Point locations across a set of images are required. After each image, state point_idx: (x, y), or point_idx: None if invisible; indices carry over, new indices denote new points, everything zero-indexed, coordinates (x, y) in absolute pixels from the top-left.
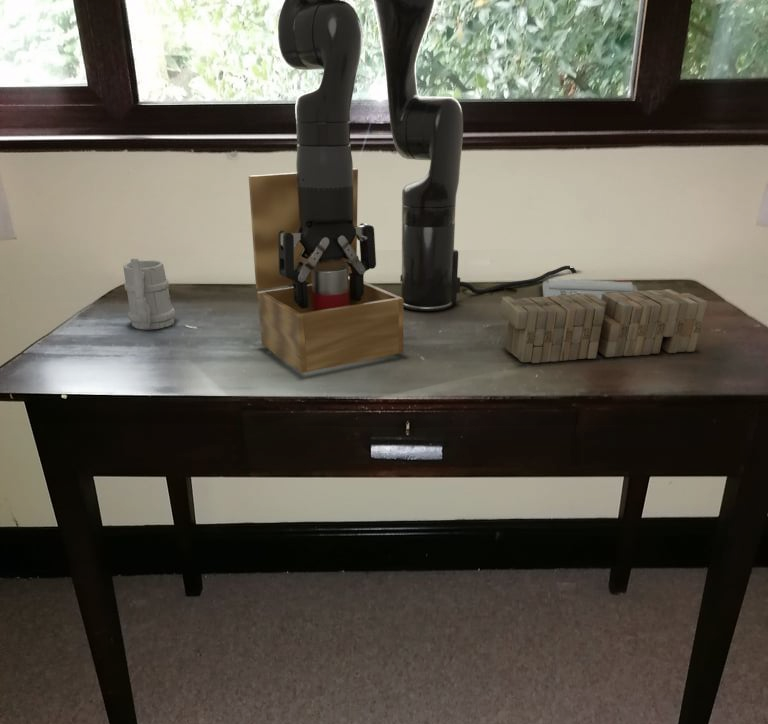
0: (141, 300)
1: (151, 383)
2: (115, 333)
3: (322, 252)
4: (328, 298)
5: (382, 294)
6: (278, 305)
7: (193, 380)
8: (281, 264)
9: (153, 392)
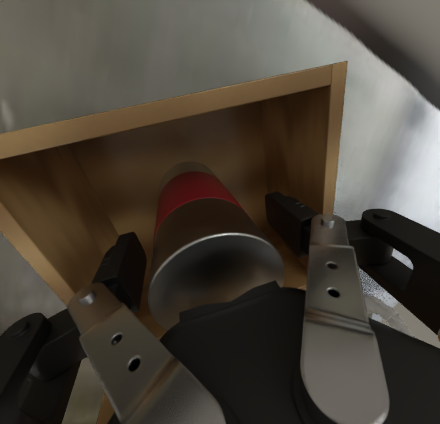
0: (392, 313)
1: (415, 145)
2: (370, 294)
3: (308, 304)
4: (223, 195)
5: (42, 243)
6: (333, 192)
7: (380, 139)
8: (403, 267)
9: (429, 111)
